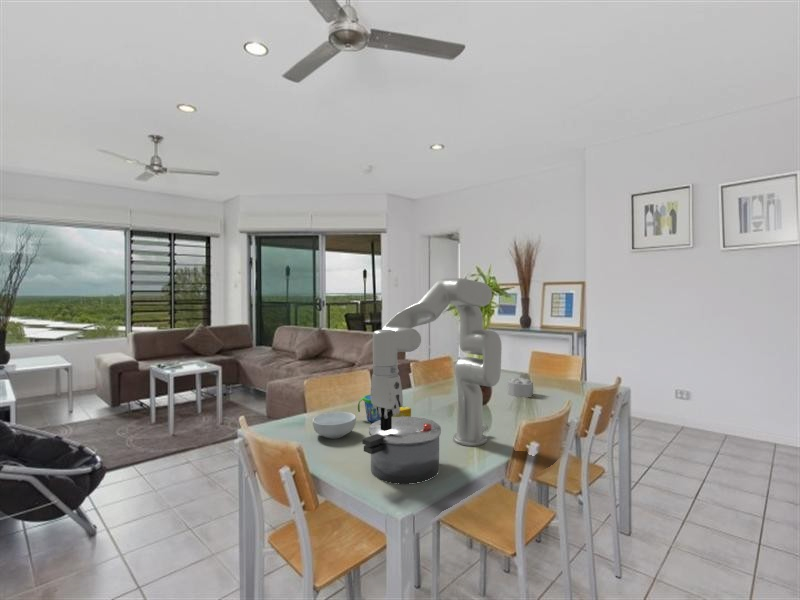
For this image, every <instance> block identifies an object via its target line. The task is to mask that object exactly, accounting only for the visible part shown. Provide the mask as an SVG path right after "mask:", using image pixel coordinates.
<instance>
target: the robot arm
mask: <svg viewBox="0 0 800 600" xmlns="http://www.w3.org/2000/svg"><path fill="white" fill-rule="evenodd" d="M492 298H493V292H492V289H491V287H490V286H489V285H488V284H487V283H485V282H482V281H477V280H472V279H468V278H459V277H458V278H456V277H455V278H442V279H439V280H437V281H436V282H435V283H434V284H433V285H432V286H431V287H430V288H429V289H428V290H427V292H426V293H424V295H423V296H422V297H421V298H420V300H419V301H418V302H416V303H414V304H412V305H410V306H409V307H406V308H405V309H402V310H401V311H399V312H398V313H396V314H395V315H393V317H391V318H390V319H389V321H388V322H386V323H385V325H384V326H383V327H382V329H377V330H374V331H373V333H372V375H371V379H370V380H371V381H370V395H371V403H372V404H373V407H374V408H375V409H377V411H378V412H379V417H381V418H380V419H381V430H382V431H387V430H390V429H391V428H392V417H393V415H394V414H398V413H400V410H399V407H402V406H404V398H403V397H404V396H403V385H402V380H401V376H400V375H399V372H400V370H399V367H398V366H399V364H398V353H403V352H404V353H411V352H414V351H416V350H417V349H418V348H419V347H420V346H421V343H422V336H421V333H419V331H418V330H417V329H415V328H416V327H418V326H422V325H427V324H429V323H432V322H435V321H437V319H438V318H439V317H440V316H441V315H442V314H443V312H444V311H445V310H446V309H447V308H448V306H450V304H452V305H453V306H454V307H455V308H456V309H457V312H458V314H459V348H460V350H461V352H463V353H466V354H468V355H477V356H482V358H478V357H471V356H465V357H464V356H463V357H461V358H459V359H457V360H456V361H455V364H454V376H455V382H456V394H457V395H456V398H457V399H456V405H457V406H456V433H454V434H453V435H452V440H453V442H455V443H456V444H459V445H463V446H468V447H477V446H482V445H484V444H486V443H487V436H486V435H484V432H485V431H487V430H488V429H489V428H488V426H487V424H484V425H483V391H482V388H481V386H484V387H489V388H491V387H495V386H496V385H497V384H498V383H499V381H500V378H501V369H502V340H501V337H500V335H499V334H498V333H497V332H496V331H494V330H489V329H484V326H483V325H484V323H483V322H484V321H483V319H484V318H483V313H482V312H483V311H482V310H481V309H480V307H486V306H488V304H490V303H491V301H492Z"/></svg>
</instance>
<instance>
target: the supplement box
mask: <svg viewBox="0 0 800 600" xmlns="http://www.w3.org/2000/svg"><path fill="white" fill-rule="evenodd" d="M399 410H400V413H398V414H394V415H393V417H412V408H411V407H408V406H405V405H403V406H402V407H399Z"/></svg>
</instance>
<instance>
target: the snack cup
mask: <svg viewBox="0 0 800 600" xmlns="http://www.w3.org/2000/svg"><path fill="white" fill-rule="evenodd" d="M361 401H363V402H364V408H365V415H366V420H367V421H369V423H371V422H372V423H374V422H376V421H378V420H381V419H380V418H381V417H379V412H378V411H377V409H375V408H374V407H373V404H372V403H371V394H367V395H364V396H363V397H362V398H361V399H359V401H358V403H357V412H358V413H360V412H361V409H360V408H361V406H360V403H361Z"/></svg>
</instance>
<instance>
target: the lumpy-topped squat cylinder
mask: <svg viewBox="0 0 800 600" xmlns="http://www.w3.org/2000/svg"><path fill="white" fill-rule="evenodd" d="M507 395H509V396H511V397H514V396H515V397H514V398H522V397H526V398H525V399H527V398H528V397H531V398H532V397H533V396H534V381H531V380H530V379H527V378H525V377H520V378H518V377H513V378H512V379H508V380H507ZM532 395H533V396H532ZM528 399H529V398H528Z"/></svg>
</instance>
